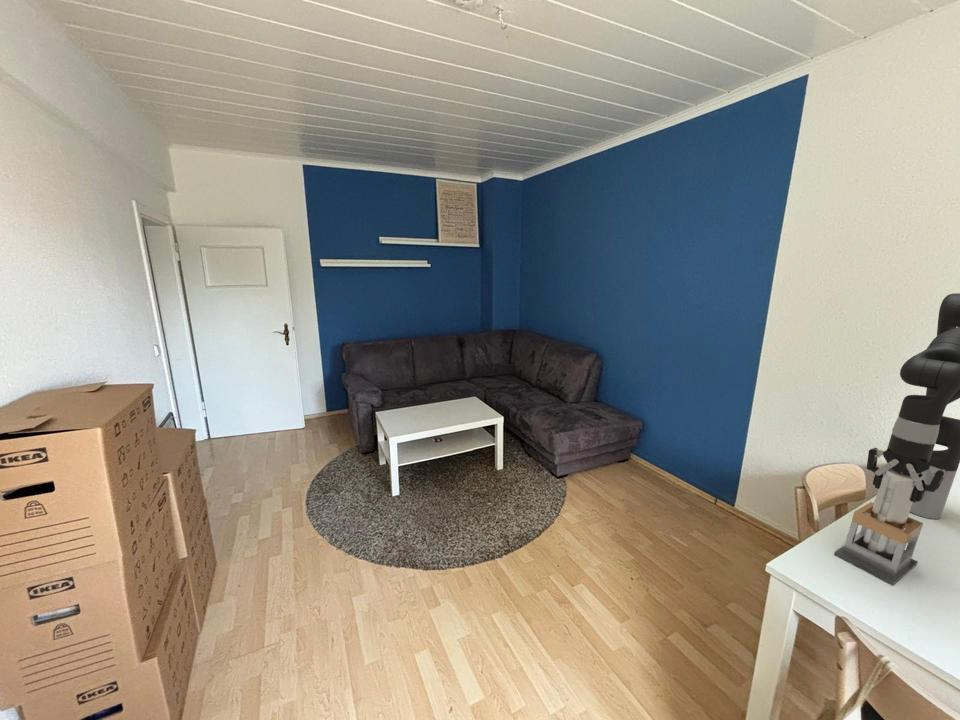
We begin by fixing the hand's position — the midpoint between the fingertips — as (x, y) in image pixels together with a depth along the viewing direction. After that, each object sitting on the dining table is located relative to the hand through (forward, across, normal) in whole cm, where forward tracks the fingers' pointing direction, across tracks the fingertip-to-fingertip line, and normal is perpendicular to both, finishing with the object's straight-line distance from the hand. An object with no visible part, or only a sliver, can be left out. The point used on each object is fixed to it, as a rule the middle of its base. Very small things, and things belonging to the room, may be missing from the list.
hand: (895, 494), depth 102 cm
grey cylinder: (+19, 0, 0) cm, 19 cm away
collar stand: (+20, 0, 0) cm, 20 cm away
